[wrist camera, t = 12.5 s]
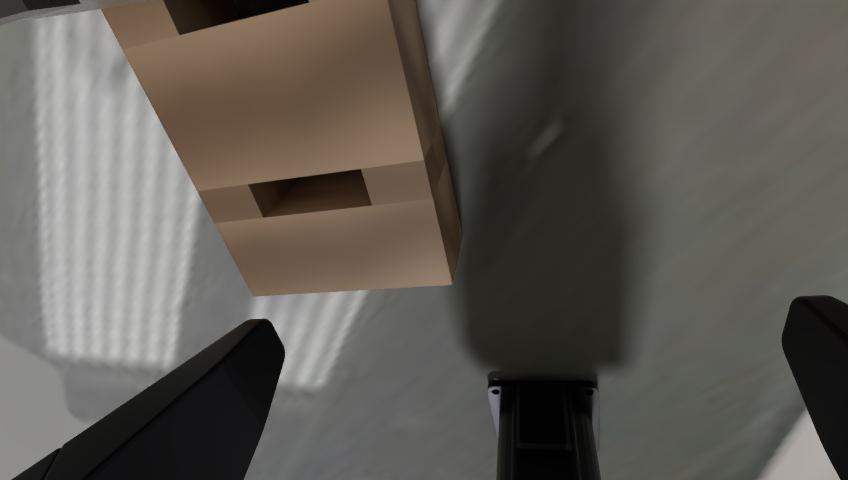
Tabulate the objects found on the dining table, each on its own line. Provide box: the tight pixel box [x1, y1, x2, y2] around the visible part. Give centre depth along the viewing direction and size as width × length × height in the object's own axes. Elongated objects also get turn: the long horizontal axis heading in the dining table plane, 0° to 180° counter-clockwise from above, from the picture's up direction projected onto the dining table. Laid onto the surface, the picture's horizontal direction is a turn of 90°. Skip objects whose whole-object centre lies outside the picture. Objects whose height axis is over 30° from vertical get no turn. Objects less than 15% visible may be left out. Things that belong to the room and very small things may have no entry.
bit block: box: [101, 0, 462, 296], centre depth 17 cm, size 20×10×4 cm, turn 13°
